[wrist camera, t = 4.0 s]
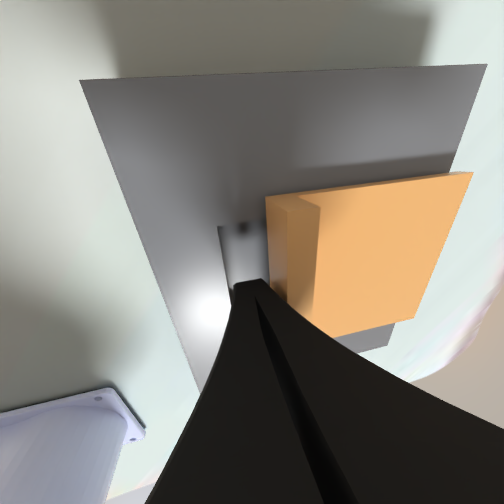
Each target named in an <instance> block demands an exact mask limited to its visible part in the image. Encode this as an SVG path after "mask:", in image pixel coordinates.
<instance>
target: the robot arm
mask: <svg viewBox="0 0 504 504" xmlns="http://www.w3.org/2000/svg"><path fill="white" fill-rule="evenodd" d="M145 434H146V432H145V430H144V429H143V428H142V426H141V425H140V424H139V422H138V421H137V420H136V418H135V417H134V416H133V414H132V413H131V412H130V410H129V409H128V408H127V406H126V405H125V404H124V402H123V401H122V400H121V398H120V397H119V396H118V394H117V393H116V392H115V390H114V389H112V388H103V389H99V390H95V391H91V392H87V393H82V394H78V395H74V396H70V397H66V398H62V399H58V400H53V401H49V402H45V403H41V404H37V405H33V406H29V407H24V408H20V409H16V410H12V411H8V412H4V413H0V504H105V501H106V497H107V494H108V491H109V488H110V484H111V481H112V478H113V475H114V471H115V468H116V465H117V461H118V458H119V455H120V452H121V448H122V445H125V444H128V443H132V442H135V441H139V440H142V439H143V438H144V437H145ZM145 504H504V429H502V428H500V427H498V426H496V425H494V424H492V423H490V422H487V421H485V420H483V419H481V418H479V417H477V416H475V415H473V414H470V413H468V412H466V411H464V410H462V409H460V408H458V407H455V406H453V405H451V404H449V403H447V402H445V401H443V400H440V399H439V398H437V397H434V396H433V395H431V394H429V393H427V392H425V391H423V390H421V389H419V388H417V387H415V386H413V385H412V384H410V383H408V382H406V381H404V380H402V379H400V378H398V377H396V376H395V375H393V374H391V373H389V372H387V371H386V370H384V369H382V368H381V367H379V366H377V365H375V364H374V363H372V362H370V361H368V360H367V359H365V358H363V357H361V356H360V355H358V354H356V353H355V352H353V351H351V350H350V349H348V348H347V347H345V346H344V345H342V344H340V343H339V342H337V341H336V340H334V339H333V338H332V337H330V336H329V335H327V334H326V333H324V332H323V331H321V330H320V329H319V328H317V327H316V326H315V325H313V324H312V323H311V322H309V321H308V320H307V319H306V318H304V317H303V316H302V315H301V314H299V313H298V312H297V311H296V310H295V309H293V308H292V307H291V306H290V305H289V304H288V303H287V302H286V301H284V300H283V299H282V298H281V297H280V296H279V295H278V294H277V293H276V292H275V291H274V290H273V289H272V288H271V287H270V286H269V285H268V284H267V283H266V282H265V281H264V280H263V279H262V278H259V279H253V280H248V281H243V282H238V283H235V284H234V285H233V299H232V305H231V310H230V314H229V318H228V322H227V326H226V329H225V332H224V336H223V339H222V342H221V345H220V348H219V351H218V353H217V356H216V359H215V361H214V364H213V366H212V369H211V371H210V374H209V376H208V378H207V381H206V383H205V385H204V388H203V390H202V392H201V394H200V397H199V399H198V401H197V403H196V405H195V408H194V410H193V412H192V414H191V416H190V418H189V420H188V422H187V424H186V426H185V428H184V430H183V432H182V434H181V436H180V438H179V440H178V442H177V444H176V445H175V447H174V449H173V451H172V453H171V455H170V457H169V459H168V461H167V463H166V465H165V467H164V469H163V471H162V473H161V475H160V476H159V478H158V480H157V482H156V484H155V486H154V488H153V490H152V491H151V493H150V495H149V496H148V498H147V500H146V502H145Z"/></svg>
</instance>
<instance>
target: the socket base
mask: <svg viewBox="0 0 504 504" xmlns="http://www.w3.org/2000/svg"><path fill="white" fill-rule="evenodd" d="M486 67H487V64H469V65H444V66H419V67H394V68H368V69H343V70H318V71H293V72H268V73H242V74H217V75H192V76H167V77H141V78H116V79H91V80H79V81H80V84H81V86H82V89H83V92H84V94H85V97H86V99H87V102H88V104H89V107H90V110H91V112H92V115H93V117H94V120H95V123H96V125H97V128H98V130H99V133H100V136H101V138H102V141H103V143H104V146H105V149H106V151H107V154H108V156H109V159H110V161H111V164H112V167H113V169H114V172H115V174H116V177H117V180H118V182H119V185H120V187H121V190H122V193H123V195H124V198H125V200H126V203H127V205H128V208H129V211H130V213H131V216H132V218H133V221H134V224H135V226H136V229H137V231H138V234H139V237H140V239H141V242H142V244H143V247H144V250H145V252H146V255H147V257H148V260H149V262H150V265H151V268H152V270H153V273H154V275H155V278H156V281H157V283H158V286H159V288H160V291H161V294H162V296H163V299H164V301H165V304H166V306H167V309H168V312H169V314H170V317H171V319H172V322H173V325H174V327H175V330H176V332H177V335H178V338H179V340H180V343H181V345H182V348H183V350H184V353H185V356H186V358H187V361H188V363H189V366H190V369H191V371H192V374H193V376H194V379H195V382H196V384H197V387H198V389H199V392H200V394H201V392H202V390H203V388H204V385H205V383H206V381H207V378H208V376H209V374H210V371H211V369H212V366H213V364H214V361H215V359H216V356H217V353H218V351H219V348H220V345H221V342H222V339H223V336H224V332H225V329H226V326H227V322H228V318H229V314H230V310H231V305H232V299H233V285H234V284H235V283H238V282H243V281H248V280H253V279H259V278H262V279H263V280H264V281H265V282H266V283H267V284H268V285H269V286H270V275H269V257H268V239H267V220H266V202H265V197H266V196H274V195H281V194H289V193H297V192H304V191H312V190H320V189H327V188H335V187H343V186H350V185H358V184H366V183H373V182H381V181H389V180H397V179H404V178H412V177H420V176H427V175H435V174H443V173H449V171H450V168H451V165H452V163H453V160H454V157H455V154H456V151H457V149H458V146H459V143H460V140H461V137H462V134H463V132H464V129H465V126H466V123H467V120H468V118H469V115H470V112H471V109H472V106H473V104H474V101H475V98H476V95H477V92H478V90H479V87H480V84H481V81H482V78H483V76H484V73H485V70H486ZM394 325H395V323H392V324H388V325H384V326H380V327H375V328H371V329H367V330H363V331H359V332H355V333H351V334H347V335H343V336H339V337H335V338H333V339H334V340H336V341H337V342H339V343H340V344H342V345H344V346H345V347H347V348H348V349H350V350H351V351H353V352H355V353H360V352H364V351H368V350H372V349H376V348H379V347H383V346H387V345H388V342H389V339H390V336H391V334H392V331H393V328H394Z"/></svg>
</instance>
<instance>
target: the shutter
mask: <svg viewBox="0 0 504 504" xmlns="http://www.w3.org/2000/svg"><path fill="white" fill-rule="evenodd" d="M473 173H474V172H450V173H443V174H435V175H427V176H420V177H412V178H404V179H397V180H389V181H381V182H373V183H366V184H358V185H350V186H343V187H335V188H327V189H320V190H312V191H304V192H297V193H289V194H281V195H274V196H266V197H265V202H266V220H267V239H268V257H269V275H270V287H271V288H272V289H273V290H274V291H275V292H276V293H277V294H278V295H279V296H280V297H281V298H282V299H283V300H284V301H286V302H287V303H288V304H289V305H290V306H291V307H292V308H293V309H295V310H296V311H297V312H298V313H299V314H301V315H302V316H303V317H304V318H306V319H307V320H308V321H309V322H311V323H312V324H313V325H315V326H316V327H317V328H319V329H320V330H321V331H323V332H324V333H326V334H327V335H329V336H330V337H332V338H335V337H339V336H343V335H347V334H351V333H355V332H359V331H363V330H367V329H371V328H375V327H380V326H384V325H388V324H392V323H396V322H400V321H404V320H408V319H412V318H414V316H415V314H416V312H417V309H418V307H419V304H420V302H421V299H422V297H423V295H424V292H425V290H426V287H427V285H428V282H429V280H430V278H431V275H432V273H433V270H434V268H435V265H436V263H437V261H438V258H439V256H440V253H441V251H442V248H443V246H444V244H445V241H446V239H447V236H448V234H449V231H450V229H451V227H452V224H453V222H454V219H455V217H456V214H457V212H458V210H459V207H460V205H461V202H462V200H463V197H464V195H465V192H466V190H467V188H468V185H469V183H470V180H471V178H472V175H473Z"/></svg>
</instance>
